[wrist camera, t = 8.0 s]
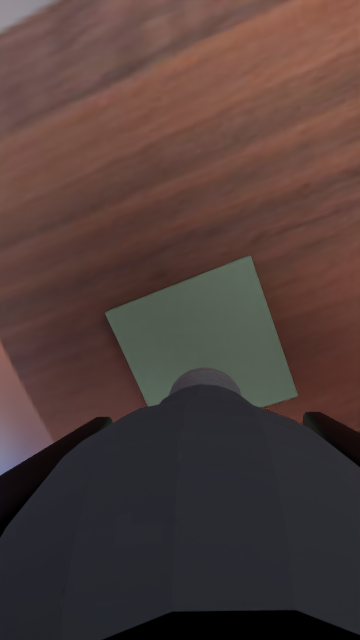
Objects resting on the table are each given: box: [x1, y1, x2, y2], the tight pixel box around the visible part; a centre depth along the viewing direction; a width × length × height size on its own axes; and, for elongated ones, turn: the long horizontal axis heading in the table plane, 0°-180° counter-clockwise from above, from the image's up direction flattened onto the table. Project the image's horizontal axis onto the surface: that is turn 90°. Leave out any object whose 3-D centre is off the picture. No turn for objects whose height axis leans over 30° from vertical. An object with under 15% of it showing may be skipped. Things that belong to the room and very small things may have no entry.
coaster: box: [105, 255, 298, 408], centre depth 14 cm, size 7×7×1 cm
